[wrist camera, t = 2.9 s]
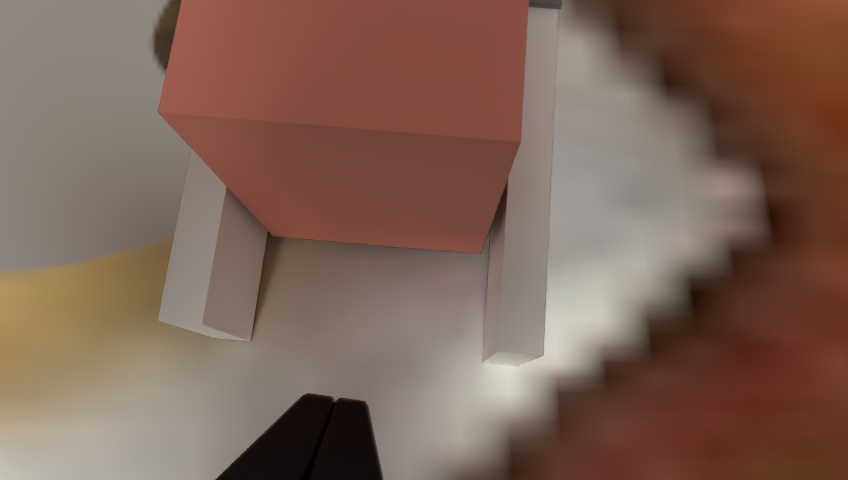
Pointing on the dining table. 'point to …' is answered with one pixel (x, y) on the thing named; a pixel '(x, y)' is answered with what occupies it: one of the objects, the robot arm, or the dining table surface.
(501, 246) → the plug guide
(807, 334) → the dining table surface
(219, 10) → the plug
